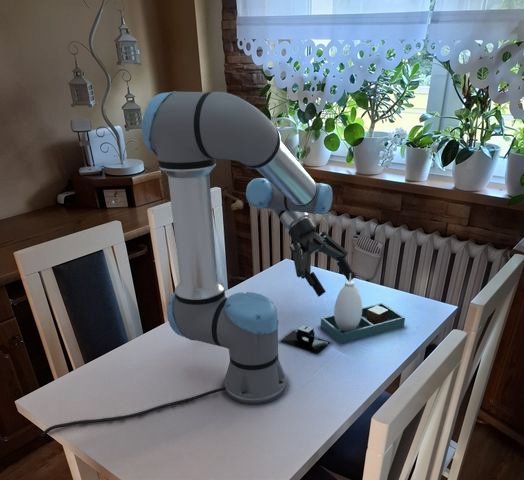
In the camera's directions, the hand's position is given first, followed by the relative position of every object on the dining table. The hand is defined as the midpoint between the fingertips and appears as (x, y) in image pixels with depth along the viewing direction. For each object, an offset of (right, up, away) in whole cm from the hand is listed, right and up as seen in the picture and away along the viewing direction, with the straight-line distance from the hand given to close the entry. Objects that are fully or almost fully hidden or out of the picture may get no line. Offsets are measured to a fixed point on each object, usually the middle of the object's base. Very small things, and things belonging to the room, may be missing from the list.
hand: (337, 286), depth 138 cm
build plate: (-9, -16, 0) cm, 19 cm away
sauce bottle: (+3, -12, +4) cm, 14 cm away
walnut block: (+13, -10, +7) cm, 18 cm away
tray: (+8, -11, +6) cm, 15 cm away
